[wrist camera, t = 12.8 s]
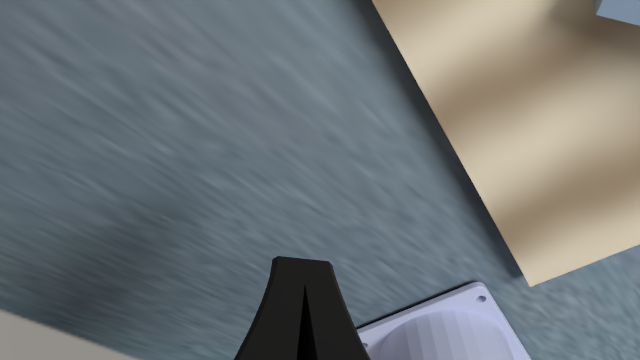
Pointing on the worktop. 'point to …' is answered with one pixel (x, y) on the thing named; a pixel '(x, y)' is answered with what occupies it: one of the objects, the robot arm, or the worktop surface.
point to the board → (535, 118)
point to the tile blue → (619, 10)
